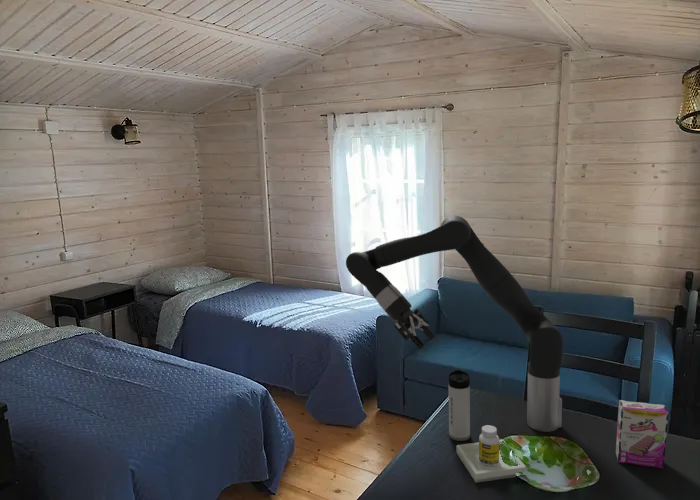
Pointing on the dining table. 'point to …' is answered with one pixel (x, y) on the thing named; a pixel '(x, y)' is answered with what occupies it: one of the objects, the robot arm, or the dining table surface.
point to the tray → (483, 472)
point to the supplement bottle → (489, 446)
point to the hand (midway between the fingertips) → (428, 342)
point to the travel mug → (459, 405)
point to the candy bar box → (641, 434)
